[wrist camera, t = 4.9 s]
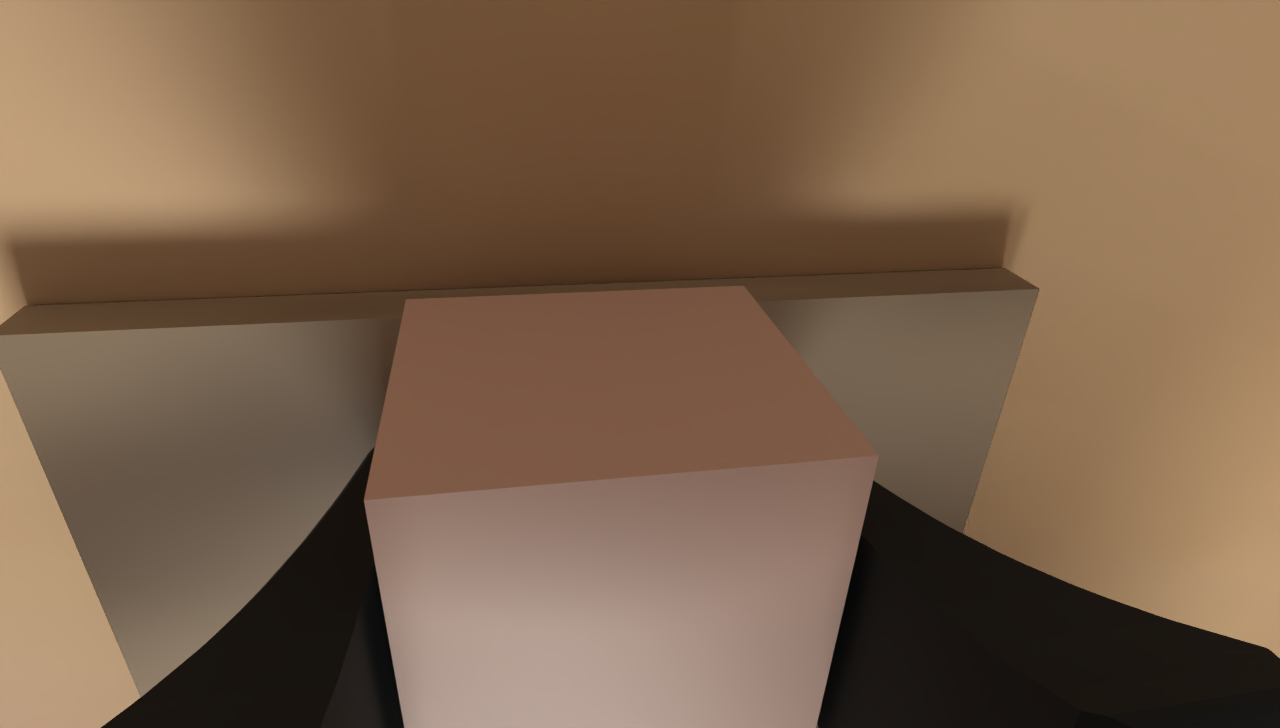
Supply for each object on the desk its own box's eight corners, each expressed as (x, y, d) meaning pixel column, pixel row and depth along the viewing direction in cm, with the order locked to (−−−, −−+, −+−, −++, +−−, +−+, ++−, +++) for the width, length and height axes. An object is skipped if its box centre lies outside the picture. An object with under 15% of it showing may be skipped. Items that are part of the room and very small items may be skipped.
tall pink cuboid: (707, 612, 15) (788, 846, 11) (448, 644, 14) (437, 912, 10) (744, 285, 11) (879, 455, 8) (406, 299, 11) (363, 499, 7)
